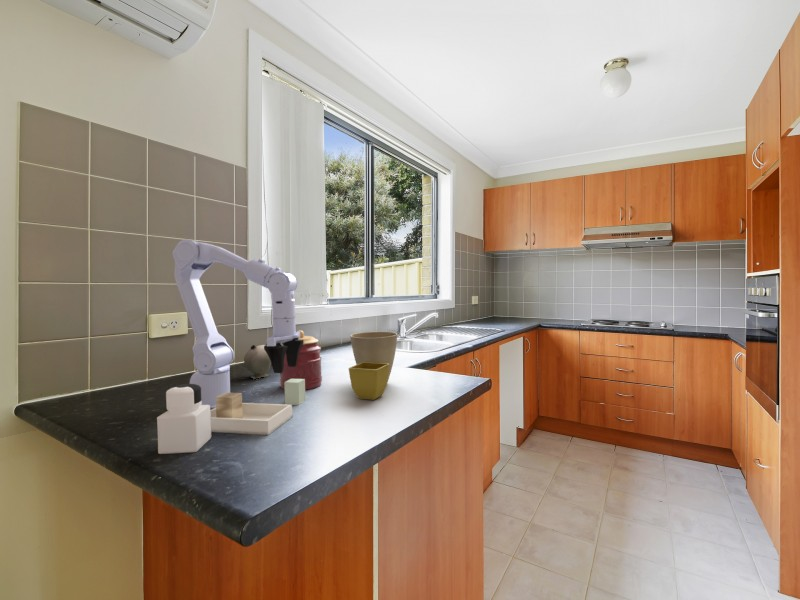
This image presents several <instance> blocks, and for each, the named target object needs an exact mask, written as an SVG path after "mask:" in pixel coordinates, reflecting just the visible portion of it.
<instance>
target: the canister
mask: <svg viewBox="0 0 800 600" xmlns="http://www.w3.org/2000/svg"><path fill="white" fill-rule="evenodd" d="M296 332H300V339H298V340H304V343H303V345H302V347H301V349H300V352H299V356H298V361H297V365H296V367H288V364H287V357H286V353H285V357H284V369H283V373H279V384H280V388H281V389H282V390H285V385H284V382H286V381H288V380H290V379H305V391H306V390H312V389H315V388H318V387H320V386H321V385H322V382H323V375H322V357H321V355H320V353H321V352H320V351H321V350H322V347H321V346H320V345H319V344H318V342H319V339H317V338H315V337H314V336H313V335H311V336H310V335H305V332H304V331H303V330H301V329H299V330H297V331H296ZM281 345H282V346H284V345H283V343H281Z"/></svg>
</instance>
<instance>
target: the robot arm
mask: <svg viewBox="0 0 800 600" xmlns="http://www.w3.org/2000/svg"><path fill="white" fill-rule="evenodd" d="M172 257H173V260H174V275H173V276H174V280H175V283H176V286H177V288H178V292H179V295H180V297H181V298H180V299H181V300H182V303H183V305H184V309H185V311H186V313H187V317H188V320H189V322H190V326H191V328H192V330H193V334H194V336H195V337H194V338H195V341H194V344H193V346H192V347H191V349H192V353H193V362H192V363H193V366H194V368H195V369H196V370H197V371H195V372H194V373H192V375H191V376H190V379H189V384H196V385H199V386H200V387H201V399H202V404H201V405H210V409H214V408H216V397H217V396H220V395H222V394H224V393H226V392H227V393H231V375H230V373H231V372H230V368H231V364H232V363H233V362H234V358H235V352H234V350H233V348H232V346H230V345H229V343H228V342H227V340H226V338H225V337H224V336H223V335H222V334H220V333H219V332H218V329H217V327H216V324H215V320H214V318H213V315H212V312H211V308H210V306H209V303H208V300H207V297H206V295H205V292H204V289H203V286H202V283H201V280H200V278H201V277H202V275H203V274H204V273H205V272H206V271H207V270H208V269H209V268H210V267H211V266H212V265H214V263H221V264H223V265H225V266H227V267H230V268H232V269H235V270H238V271H240V272H242V273H243V275H244V278H246V280H248V281H250V282H253V283H255V284H257V285H260V286H261V287H263V288H266V289H268V291H269V292H270V293H271V306H272V307H271V308H272V309H271V310H272V311H271V312H272V335H271V336H270V337H267V338H266V344H267V345H266V344H264V345H265V346H264V350H265V351H266V353H267V354H268V356H269V358H270V361H271V367H272V370H273V374H280V373H283V369H284V357H285V353H286V357H287V364H288V367H296V365H297V361H298V356H299V352H300V349H301V347H302V345H303V343H304V340H298V339H300V332H297V331H296V330H297V329H296V303H295V301H296V300H295V291H296V290H297V289H298V288H297V287H298V281H297V280H298V279H297V278H296V276H295V275H294V274H292V273H291V272H289V271H284V272H283V271H282V268H280V267H278V266H277V267H274V266H272V265H269V264H267V263H266V260H265V259H262V258H259V259H256V258H255V259H252V260H250V261H249V260H247V259H246V258H243V257H242V256H239V255H238V254H235V253H234V252H232V251H229V250H227V249H225V248H223V247H221V246H218V245H214V244H212V243H210V242H209V243H208V242H201V241H195V240H192V239H187V238H186V239H182V240H180V241H178V242H177V244H176V246H175V248H174V249H173V250H172ZM282 343H283V344H282ZM283 345H284V346H283Z"/></svg>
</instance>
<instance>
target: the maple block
mask: <svg viewBox="0 0 800 600" xmlns="http://www.w3.org/2000/svg"><path fill="white" fill-rule="evenodd" d="M242 403H243V392H230V393H227V392H226V393H224V394H222V395H220V396H217V397H216V417H217V418H238V419H242V418H243V411H242Z"/></svg>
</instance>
